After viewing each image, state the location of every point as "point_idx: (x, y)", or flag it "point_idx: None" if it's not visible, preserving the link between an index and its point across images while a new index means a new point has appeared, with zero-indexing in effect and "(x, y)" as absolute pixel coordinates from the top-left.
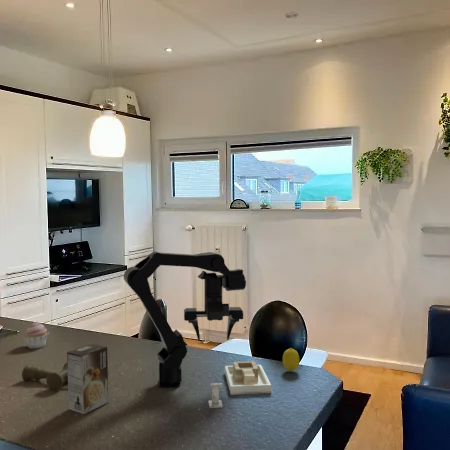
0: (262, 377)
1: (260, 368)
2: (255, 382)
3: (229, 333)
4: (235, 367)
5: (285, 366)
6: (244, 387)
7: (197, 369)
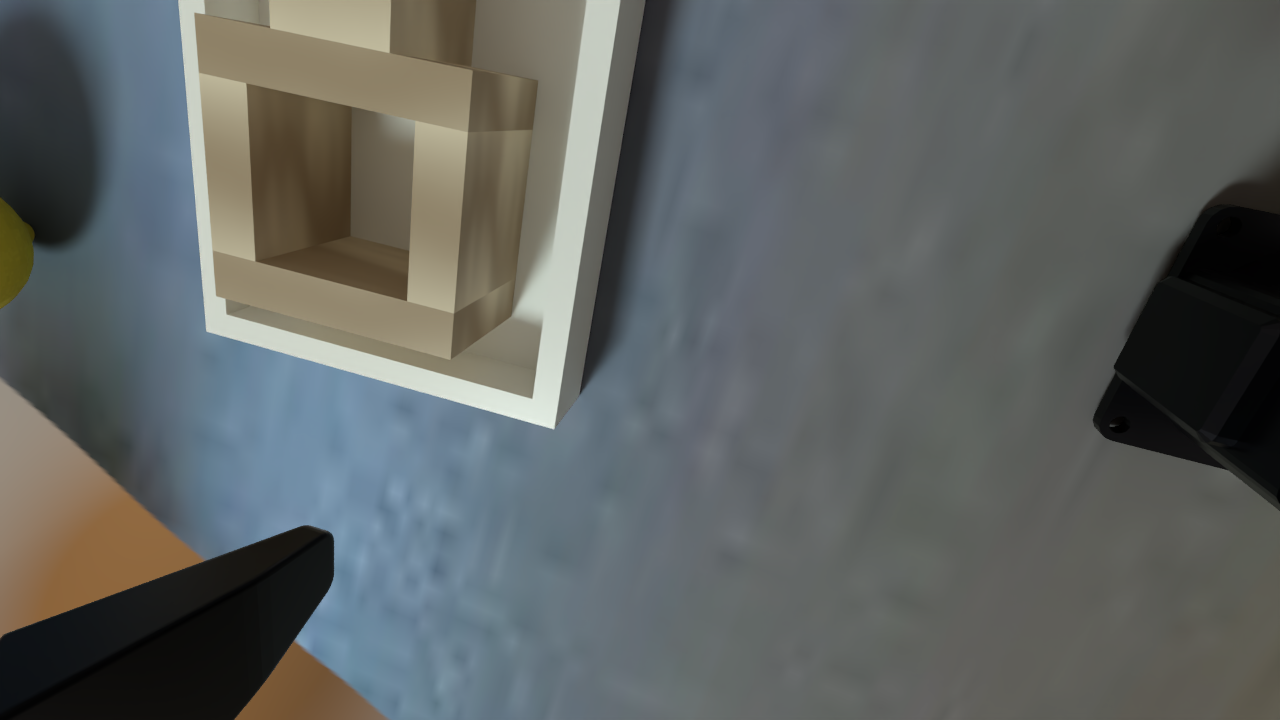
0: None
1: None
2: None
3: (147, 598)
4: (461, 156)
5: (2, 221)
6: None
7: (800, 576)
